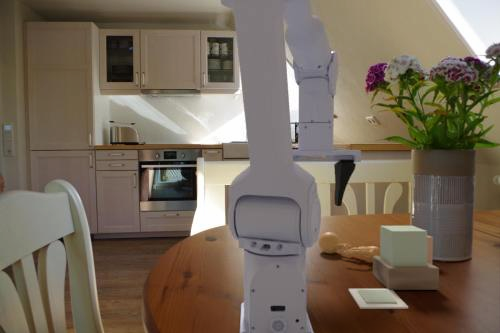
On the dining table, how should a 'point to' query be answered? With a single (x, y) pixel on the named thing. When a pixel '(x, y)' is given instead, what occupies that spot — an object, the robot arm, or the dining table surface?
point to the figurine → (345, 246)
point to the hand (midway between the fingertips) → (315, 205)
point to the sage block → (403, 245)
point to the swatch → (377, 299)
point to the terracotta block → (429, 249)
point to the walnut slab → (406, 276)
